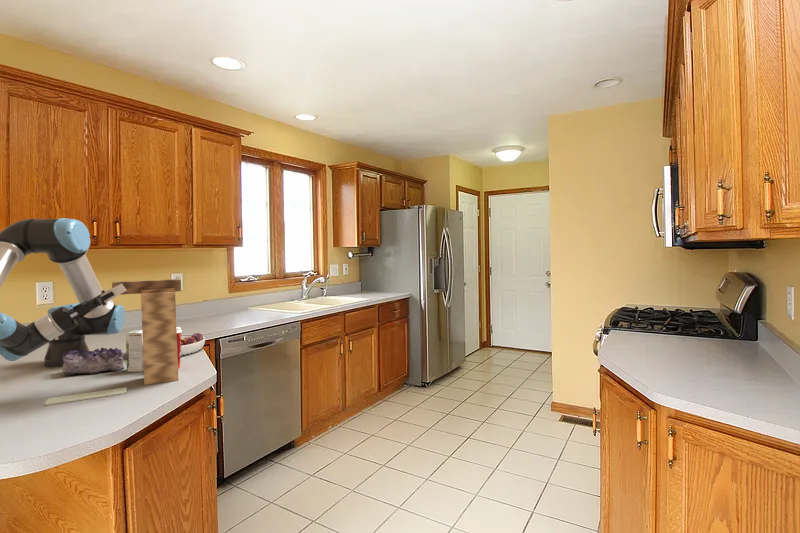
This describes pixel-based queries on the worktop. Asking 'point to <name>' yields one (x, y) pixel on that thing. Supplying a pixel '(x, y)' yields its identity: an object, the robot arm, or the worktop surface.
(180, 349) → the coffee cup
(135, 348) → the syrup box
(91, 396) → the sage mat
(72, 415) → the worktop surface
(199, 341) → the bowl
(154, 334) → the oak pedestal
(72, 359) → the geode
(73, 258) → the robot arm
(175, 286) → the walnut bar
